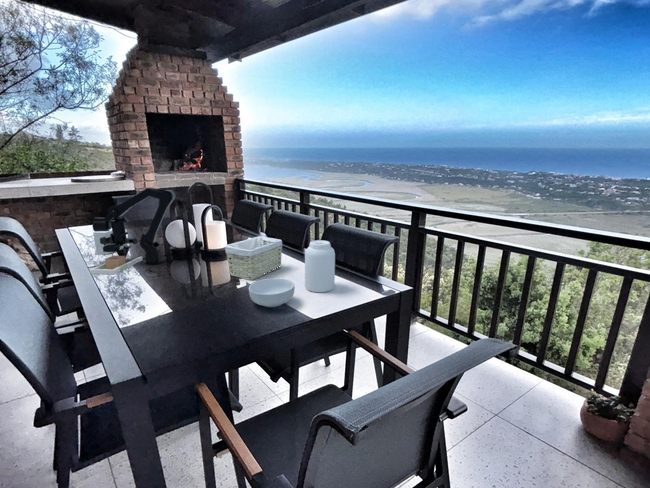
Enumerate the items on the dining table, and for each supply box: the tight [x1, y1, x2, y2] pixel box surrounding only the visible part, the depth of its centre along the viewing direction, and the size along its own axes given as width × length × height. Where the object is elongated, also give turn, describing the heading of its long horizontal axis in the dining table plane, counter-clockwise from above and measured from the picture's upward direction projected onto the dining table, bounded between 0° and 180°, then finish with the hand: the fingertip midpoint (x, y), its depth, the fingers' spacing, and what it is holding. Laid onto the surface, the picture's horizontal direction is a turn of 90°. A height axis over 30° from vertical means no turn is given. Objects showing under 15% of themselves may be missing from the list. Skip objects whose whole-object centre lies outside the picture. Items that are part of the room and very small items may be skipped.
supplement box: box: [92, 229, 115, 255], centre depth 188 cm, size 7×7×13 cm
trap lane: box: [89, 256, 143, 276], centre depth 165 cm, size 11×24×2 cm, turn 178°
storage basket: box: [224, 235, 283, 281], centre depth 159 cm, size 24×16×15 cm
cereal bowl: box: [248, 277, 295, 308], centre depth 125 cm, size 17×17×7 cm
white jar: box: [304, 239, 336, 293], centre depth 139 cm, size 12×12×20 cm
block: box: [104, 254, 127, 270], centre depth 164 cm, size 6×6×5 cm
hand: (123, 261), depth 169 cm, fingers closed
